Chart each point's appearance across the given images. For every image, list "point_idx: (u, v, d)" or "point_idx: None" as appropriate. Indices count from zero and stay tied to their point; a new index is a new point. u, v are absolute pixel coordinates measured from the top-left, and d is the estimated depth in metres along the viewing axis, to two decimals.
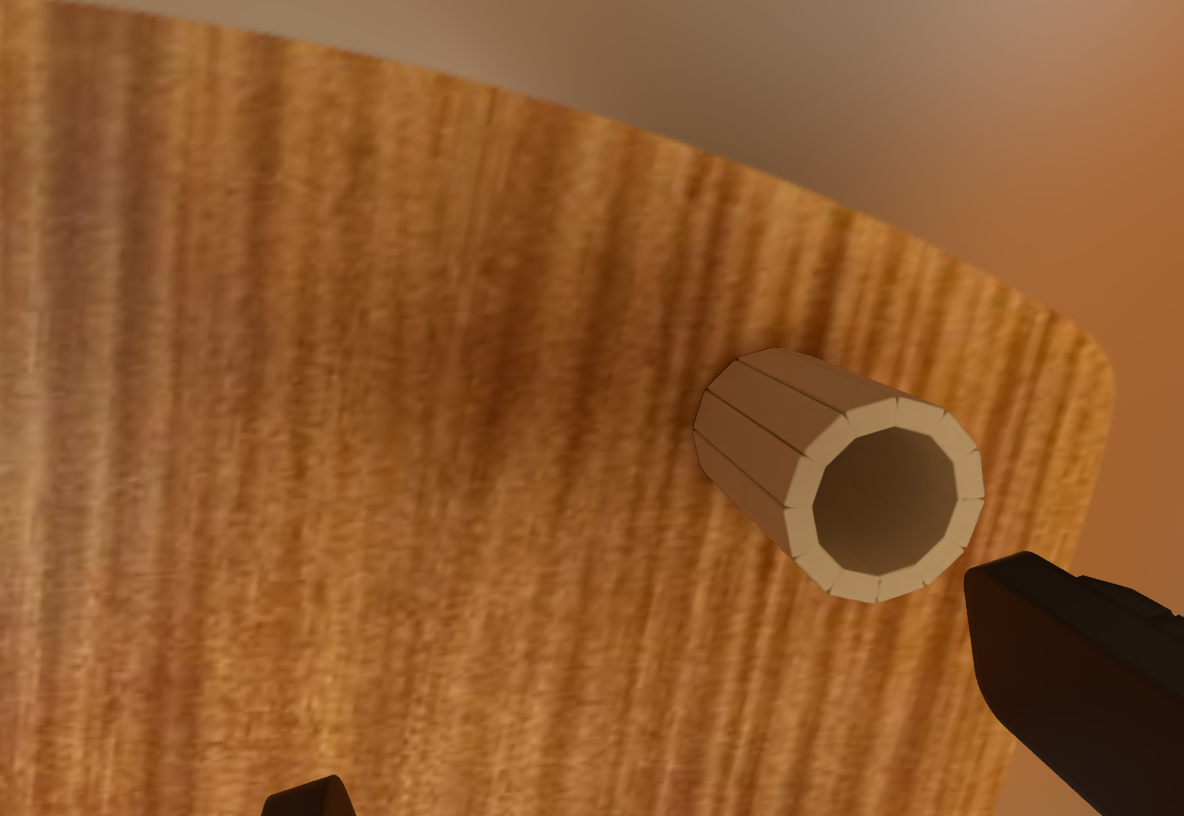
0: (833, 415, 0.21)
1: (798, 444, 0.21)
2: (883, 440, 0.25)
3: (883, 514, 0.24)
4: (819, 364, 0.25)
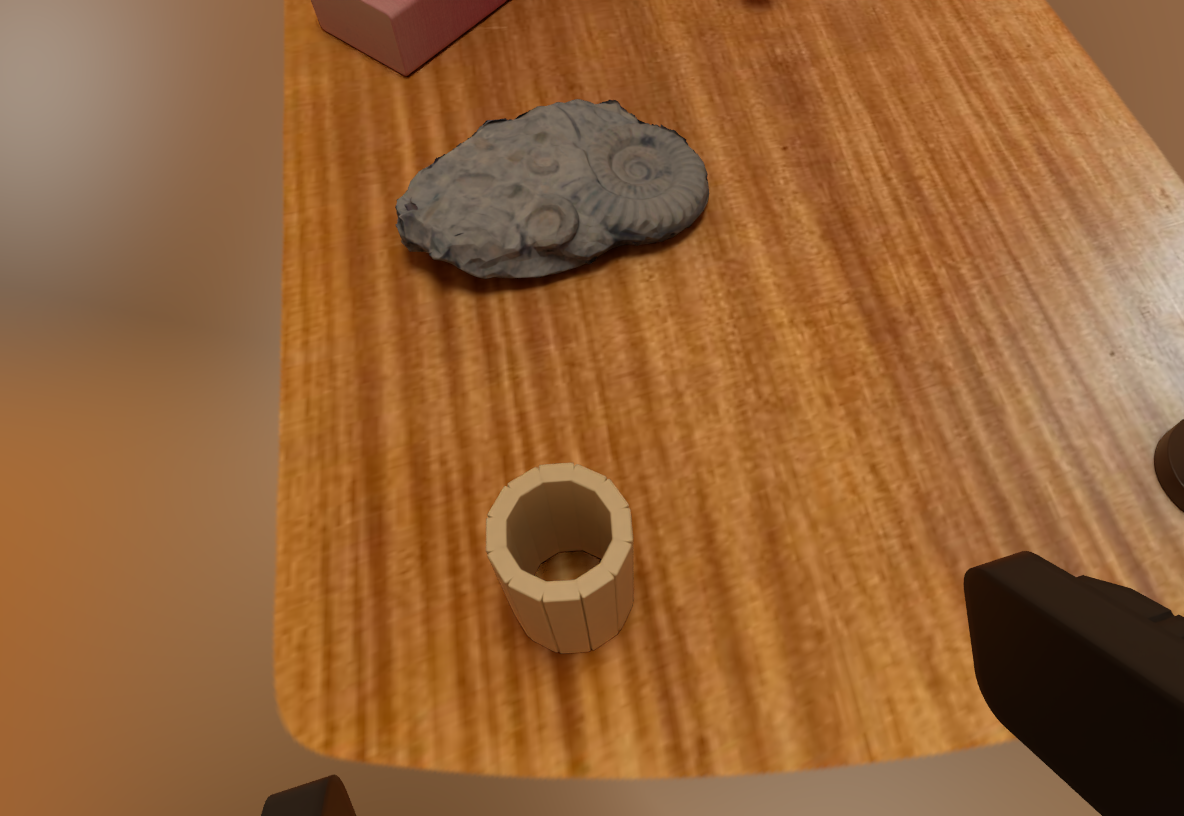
0: (618, 574, 0.31)
1: (631, 550, 0.31)
2: None
3: (520, 534, 0.34)
4: (586, 632, 0.34)
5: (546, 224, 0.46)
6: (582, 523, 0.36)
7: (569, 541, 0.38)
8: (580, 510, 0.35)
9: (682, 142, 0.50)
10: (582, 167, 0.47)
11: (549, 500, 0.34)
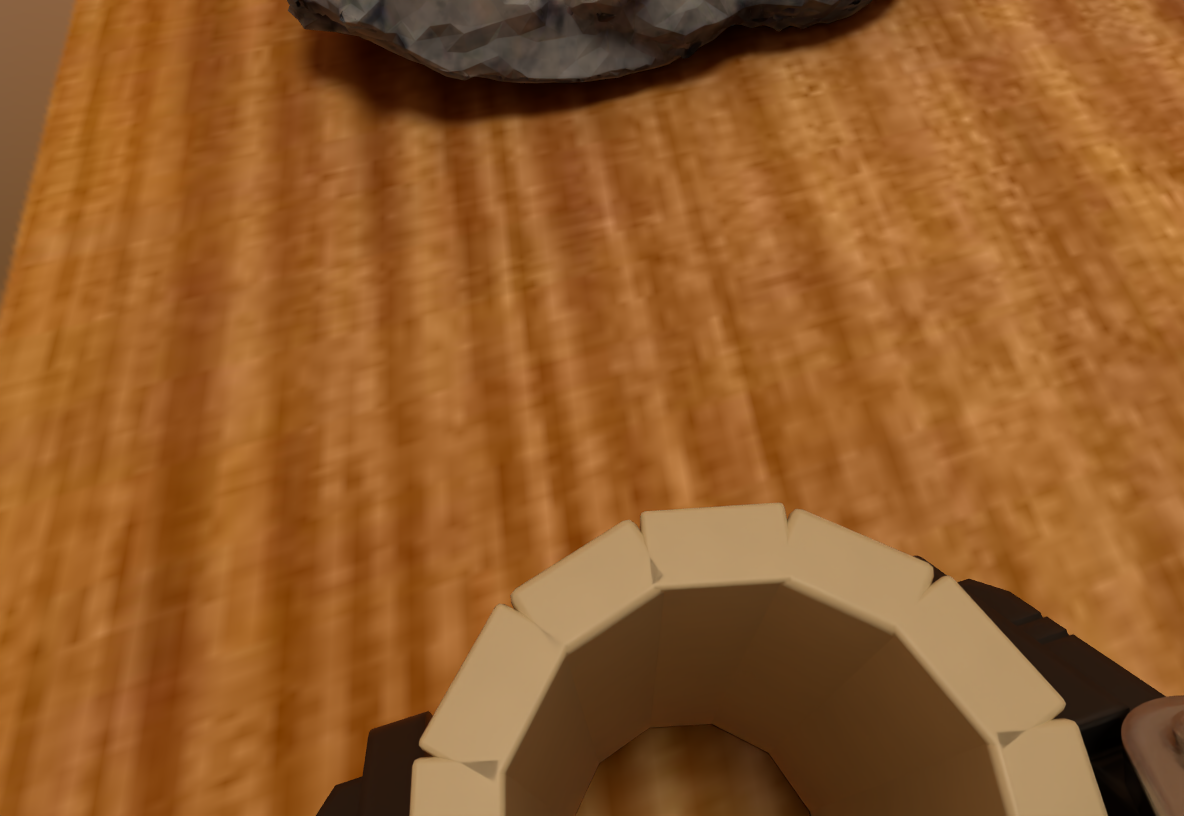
0: None
1: None
2: None
3: (555, 760, 0.09)
4: None
5: None
6: (751, 688, 0.11)
7: (686, 712, 0.13)
8: (765, 663, 0.10)
9: None
10: None
11: (666, 638, 0.09)
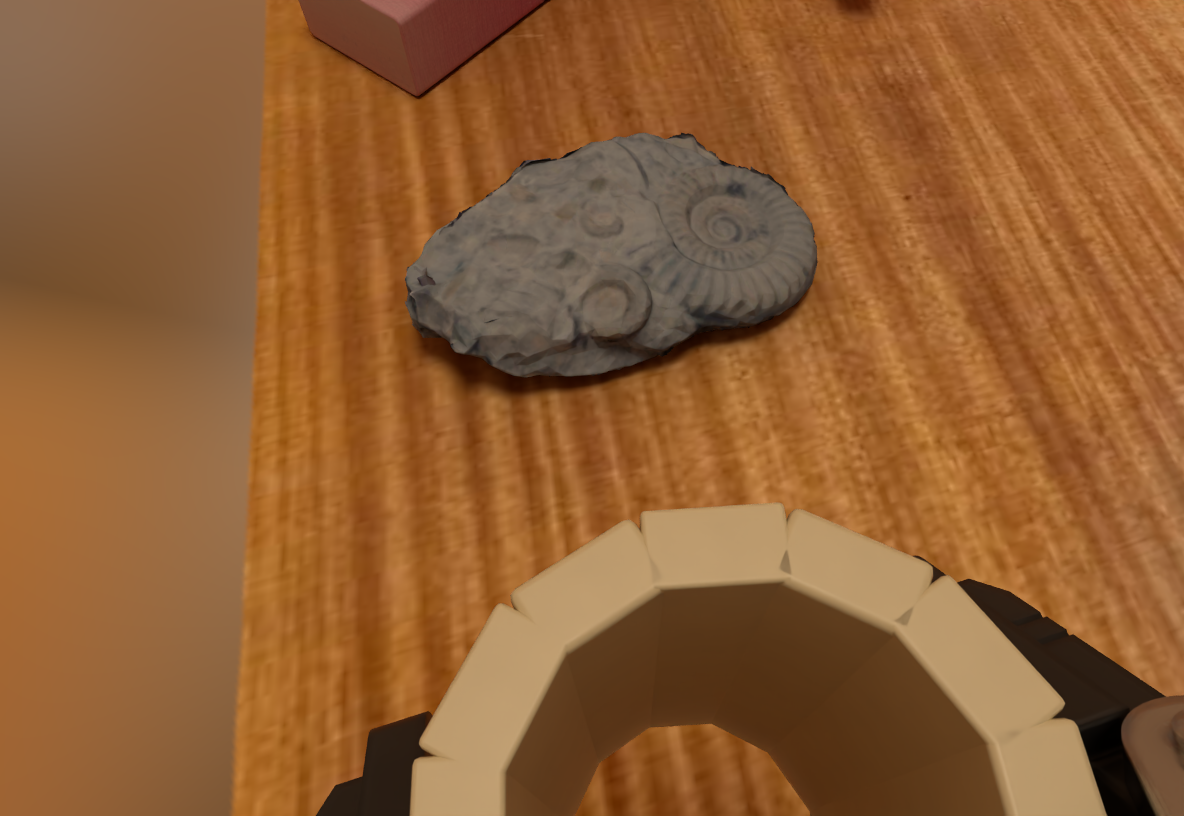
0: None
1: None
2: None
3: (555, 760, 0.09)
4: None
5: (608, 305, 0.34)
6: (751, 688, 0.11)
7: (686, 712, 0.13)
8: (765, 662, 0.10)
9: (781, 191, 0.38)
10: (654, 227, 0.35)
11: (666, 638, 0.09)
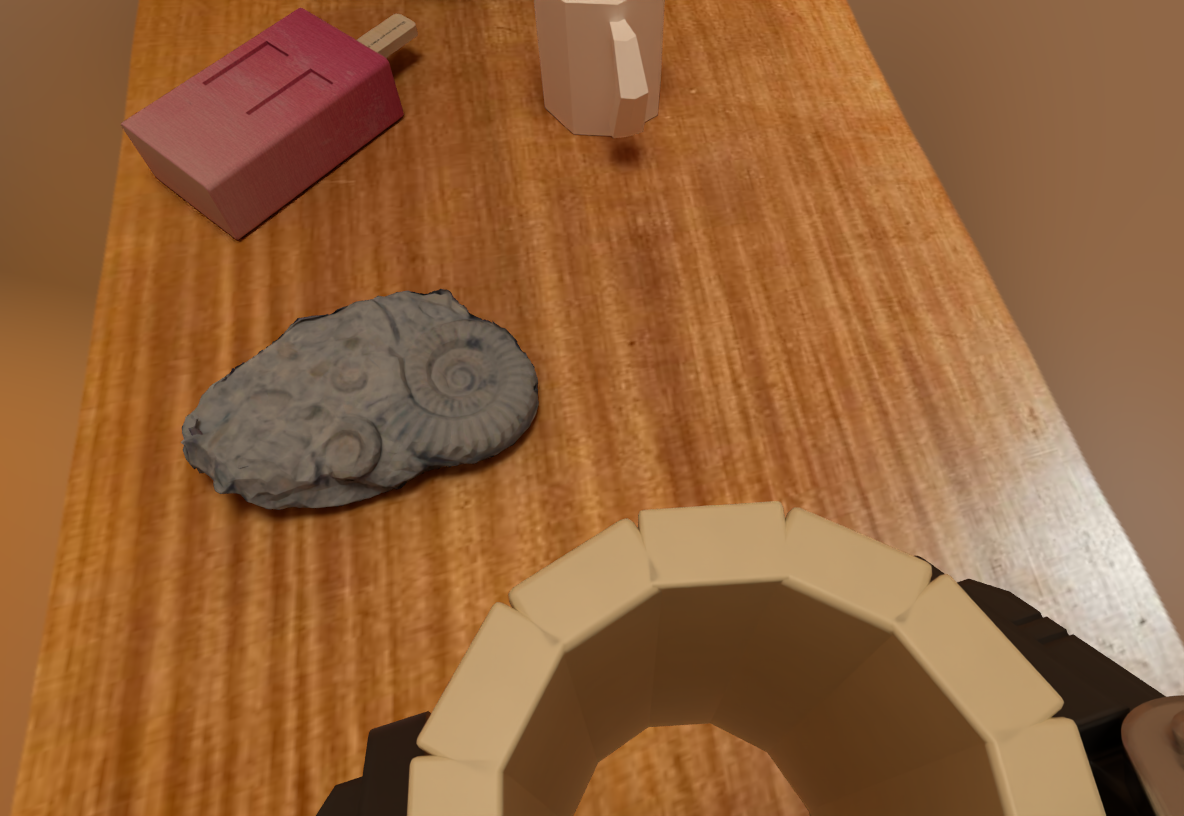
0: None
1: None
2: None
3: (553, 759, 0.09)
4: None
5: (346, 451, 0.42)
6: (750, 687, 0.11)
7: (685, 712, 0.13)
8: (764, 661, 0.10)
9: (512, 345, 0.45)
10: (392, 383, 0.43)
11: (664, 637, 0.09)
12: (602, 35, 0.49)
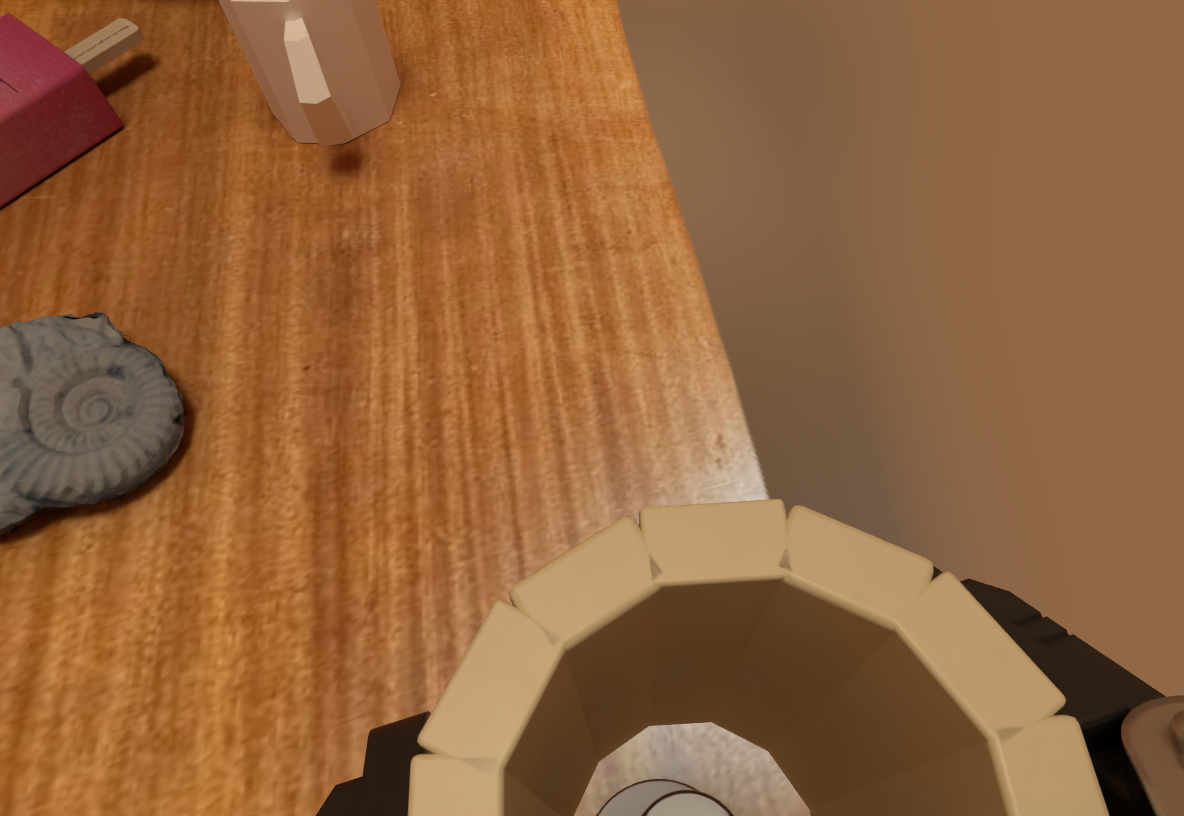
0: None
1: None
2: None
3: (554, 758, 0.09)
4: None
5: None
6: (751, 686, 0.11)
7: (685, 711, 0.13)
8: (765, 660, 0.10)
9: (157, 373, 0.42)
10: (3, 417, 0.39)
11: (666, 636, 0.09)
12: (284, 35, 0.46)
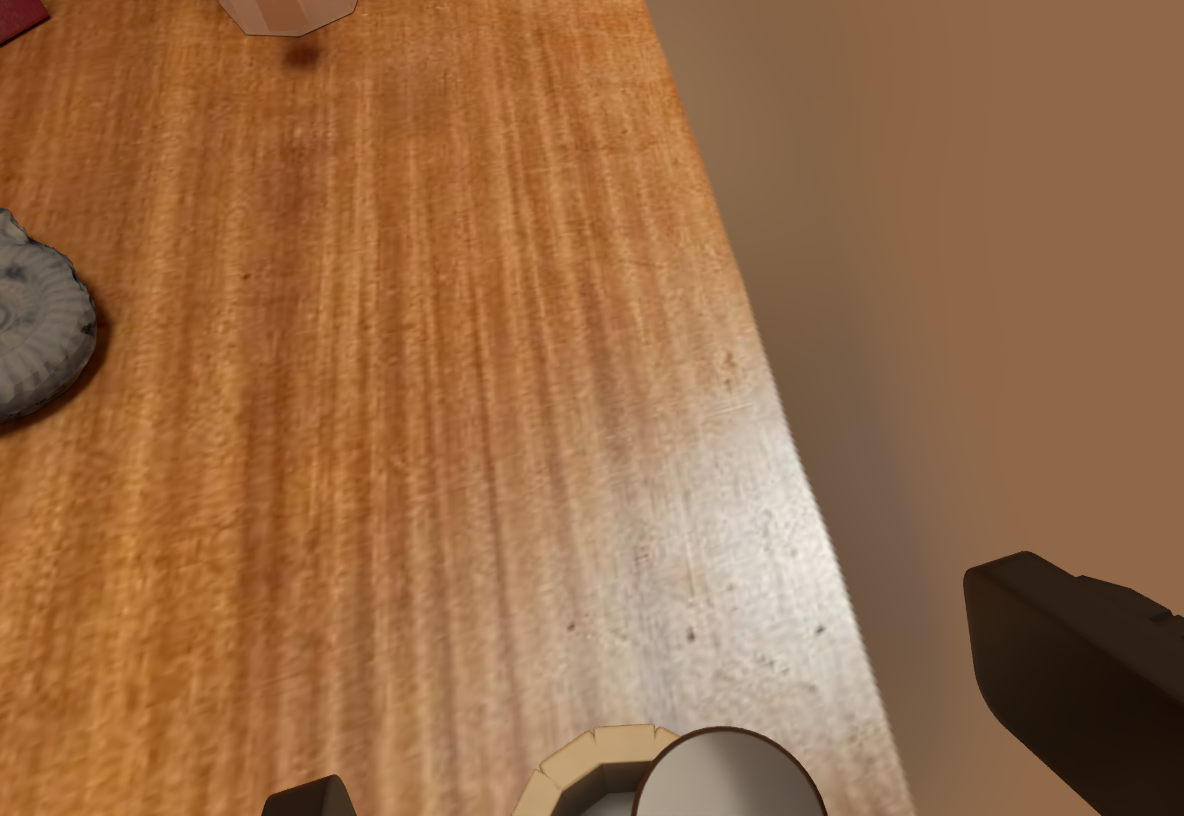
0: None
1: None
2: None
3: None
4: None
5: None
6: None
7: (627, 788, 0.24)
8: None
9: (65, 275, 0.35)
10: None
11: (607, 772, 0.20)
12: None
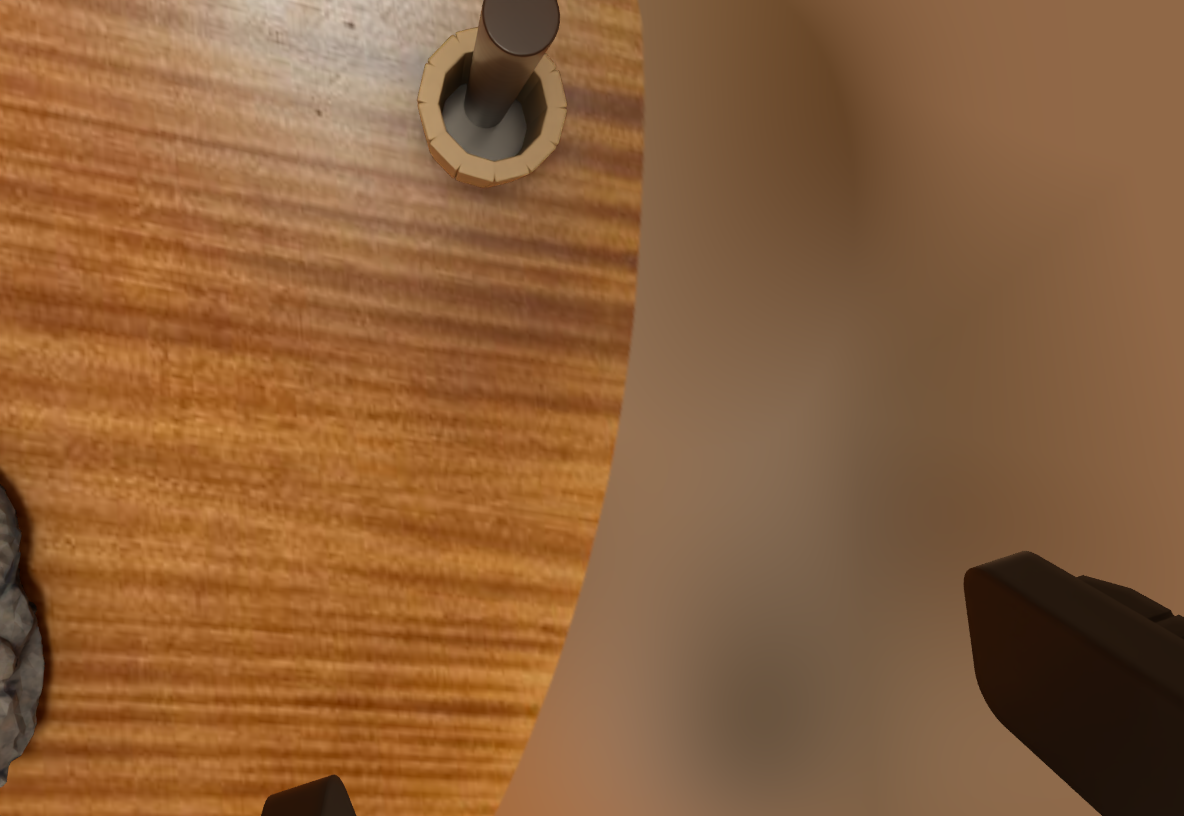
0: (554, 64, 0.32)
1: None
2: None
3: None
4: None
5: None
6: (449, 85, 0.35)
7: (442, 108, 0.37)
8: (449, 80, 0.33)
9: None
10: None
11: (439, 106, 0.33)
12: None
